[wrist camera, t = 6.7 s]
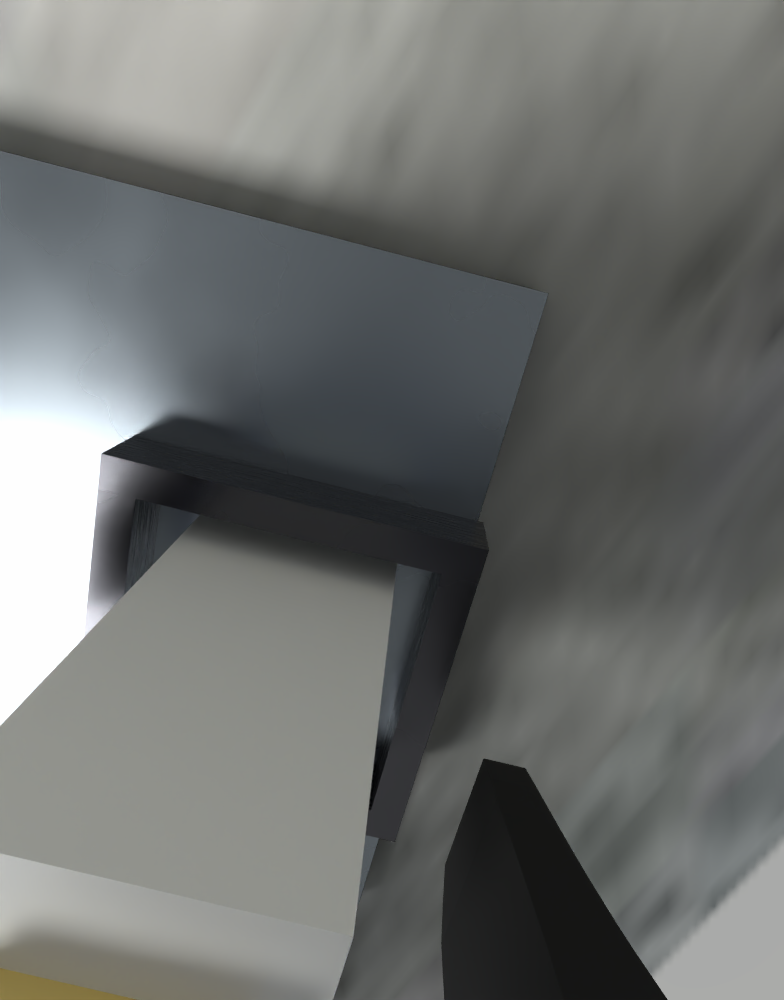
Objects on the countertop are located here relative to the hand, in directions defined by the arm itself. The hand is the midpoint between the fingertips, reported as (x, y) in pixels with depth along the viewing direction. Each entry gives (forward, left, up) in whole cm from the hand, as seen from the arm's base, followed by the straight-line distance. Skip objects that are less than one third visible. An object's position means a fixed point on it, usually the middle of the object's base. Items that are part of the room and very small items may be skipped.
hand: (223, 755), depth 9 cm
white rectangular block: (0, 0, -3) cm, 3 cm away
